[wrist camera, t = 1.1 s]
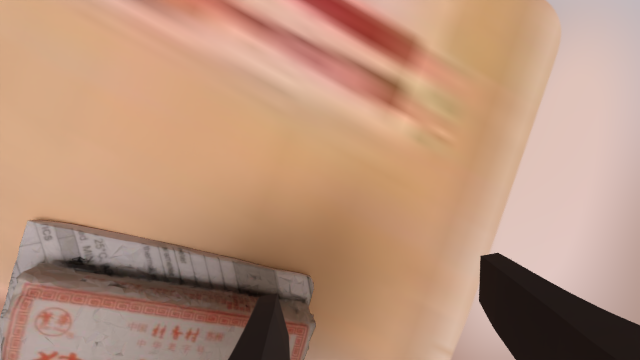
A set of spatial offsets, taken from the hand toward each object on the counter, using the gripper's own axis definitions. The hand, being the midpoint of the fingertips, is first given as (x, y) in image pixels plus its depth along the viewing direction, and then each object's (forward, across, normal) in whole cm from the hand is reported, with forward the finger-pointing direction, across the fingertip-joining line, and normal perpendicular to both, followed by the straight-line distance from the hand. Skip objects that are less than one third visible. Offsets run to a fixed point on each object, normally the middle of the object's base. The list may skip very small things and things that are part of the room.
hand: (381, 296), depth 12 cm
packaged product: (+9, +13, +7) cm, 18 cm away
